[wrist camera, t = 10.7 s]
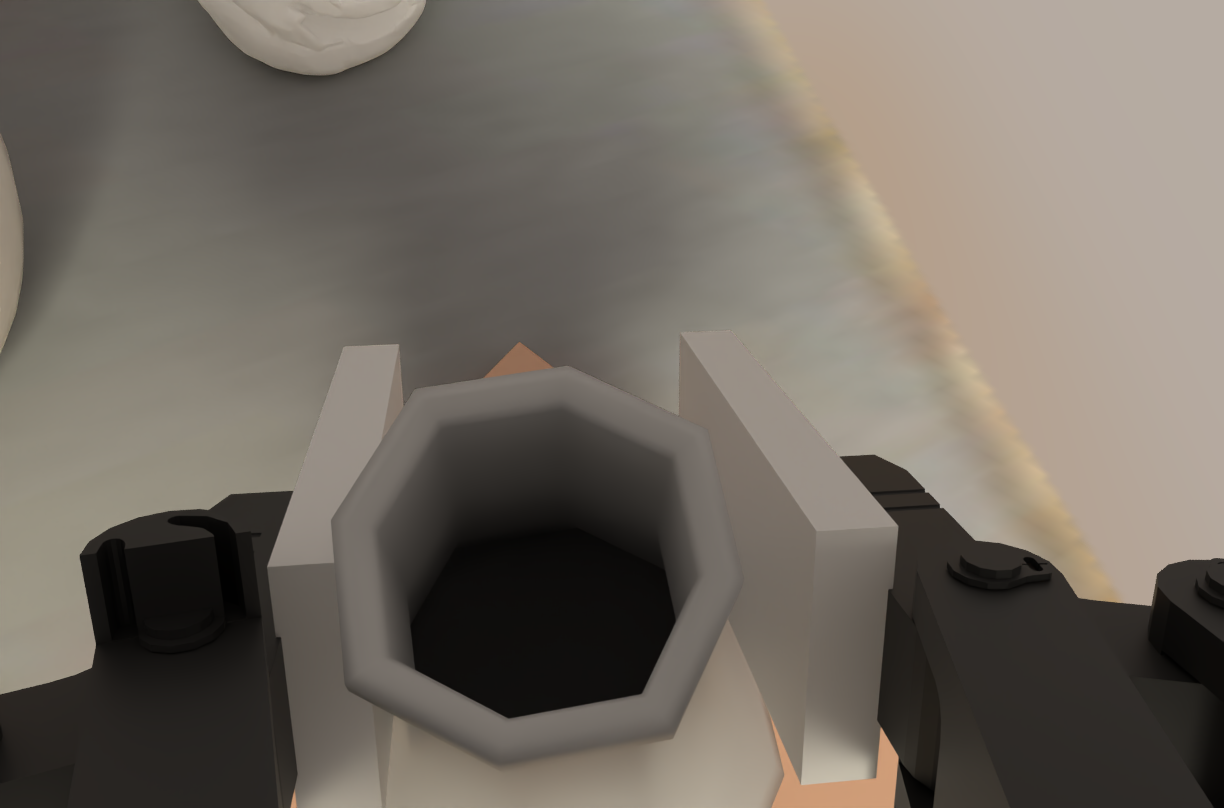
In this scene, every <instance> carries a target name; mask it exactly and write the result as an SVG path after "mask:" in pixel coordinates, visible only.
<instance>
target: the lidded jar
mask: <svg viewBox="0 0 1224 808" xmlns="http://www.w3.org/2000/svg"><path fill="white" fill-rule="evenodd" d="M22 280H23V216H22V212H21V207H20V202H19V198H18V193H17V188H16V184H15V179H14V175H13V171H12V167H11V163H10V158H9V154H8V151H7V148H6V146H5V143H4V141H3V138H2V136H1V133H0V354H1V351H2V349H3V346H4V344H5V341H6V339H7V336H8V333H9V331H10V328H11V326H12V323H13V320H14V318H15V315H16V311H17V306H18V301H19V295H20V290H21V285H22Z"/></svg>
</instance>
